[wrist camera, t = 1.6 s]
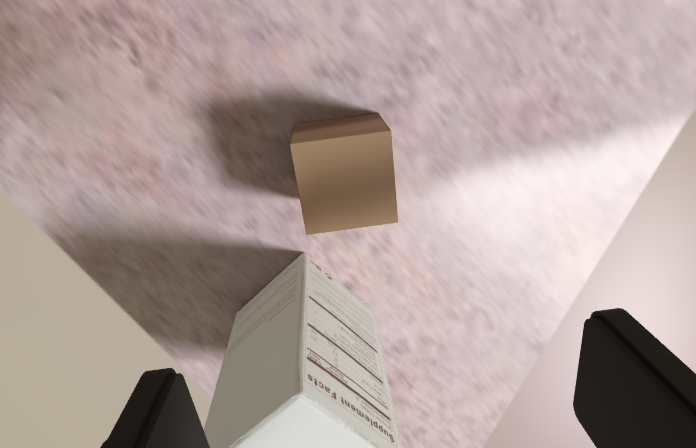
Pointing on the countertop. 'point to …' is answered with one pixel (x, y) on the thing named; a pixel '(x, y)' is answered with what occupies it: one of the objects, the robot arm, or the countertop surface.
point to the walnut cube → (344, 173)
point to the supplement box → (303, 370)
